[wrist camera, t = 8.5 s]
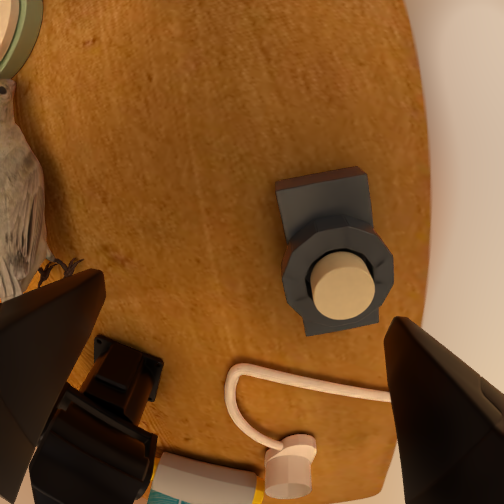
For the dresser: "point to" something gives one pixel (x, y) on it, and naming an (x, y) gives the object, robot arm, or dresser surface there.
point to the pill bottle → (162, 498)
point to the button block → (330, 240)
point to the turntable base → (22, 37)
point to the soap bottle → (205, 482)
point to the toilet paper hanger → (293, 447)
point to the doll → (7, 23)
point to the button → (341, 285)
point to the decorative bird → (21, 207)
